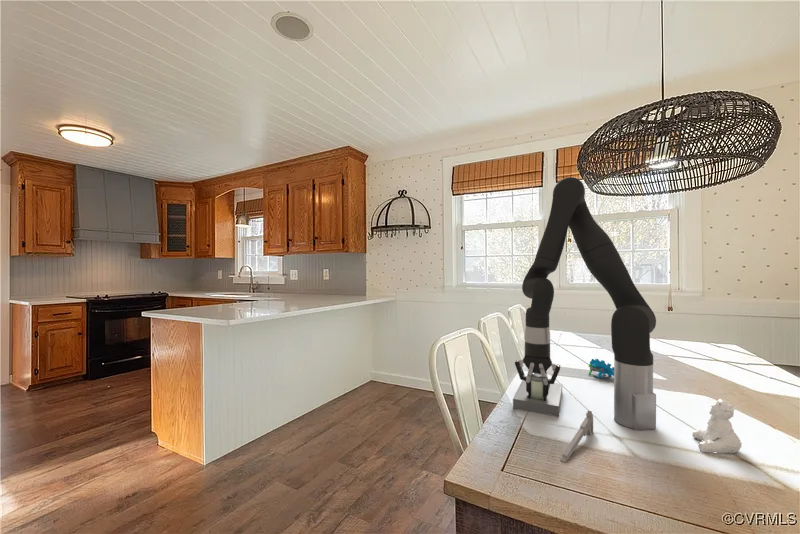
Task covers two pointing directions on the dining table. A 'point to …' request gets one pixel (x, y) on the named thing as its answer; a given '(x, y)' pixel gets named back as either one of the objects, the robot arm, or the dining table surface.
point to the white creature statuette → (719, 431)
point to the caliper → (579, 436)
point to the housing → (539, 406)
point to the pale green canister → (537, 387)
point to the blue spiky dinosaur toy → (601, 368)
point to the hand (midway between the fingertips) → (537, 394)
